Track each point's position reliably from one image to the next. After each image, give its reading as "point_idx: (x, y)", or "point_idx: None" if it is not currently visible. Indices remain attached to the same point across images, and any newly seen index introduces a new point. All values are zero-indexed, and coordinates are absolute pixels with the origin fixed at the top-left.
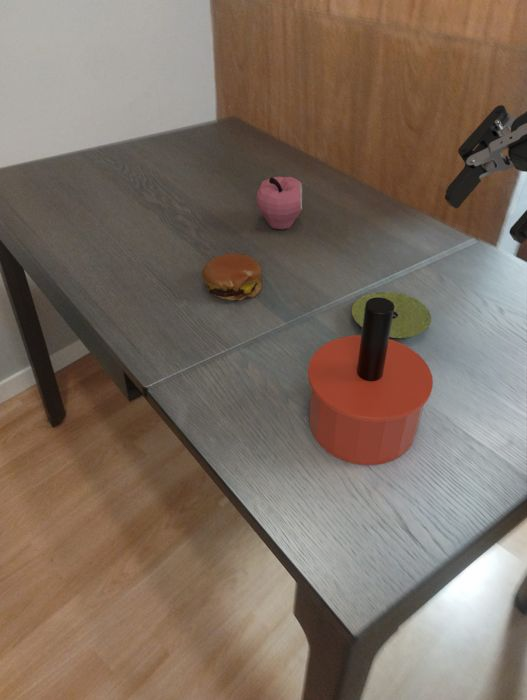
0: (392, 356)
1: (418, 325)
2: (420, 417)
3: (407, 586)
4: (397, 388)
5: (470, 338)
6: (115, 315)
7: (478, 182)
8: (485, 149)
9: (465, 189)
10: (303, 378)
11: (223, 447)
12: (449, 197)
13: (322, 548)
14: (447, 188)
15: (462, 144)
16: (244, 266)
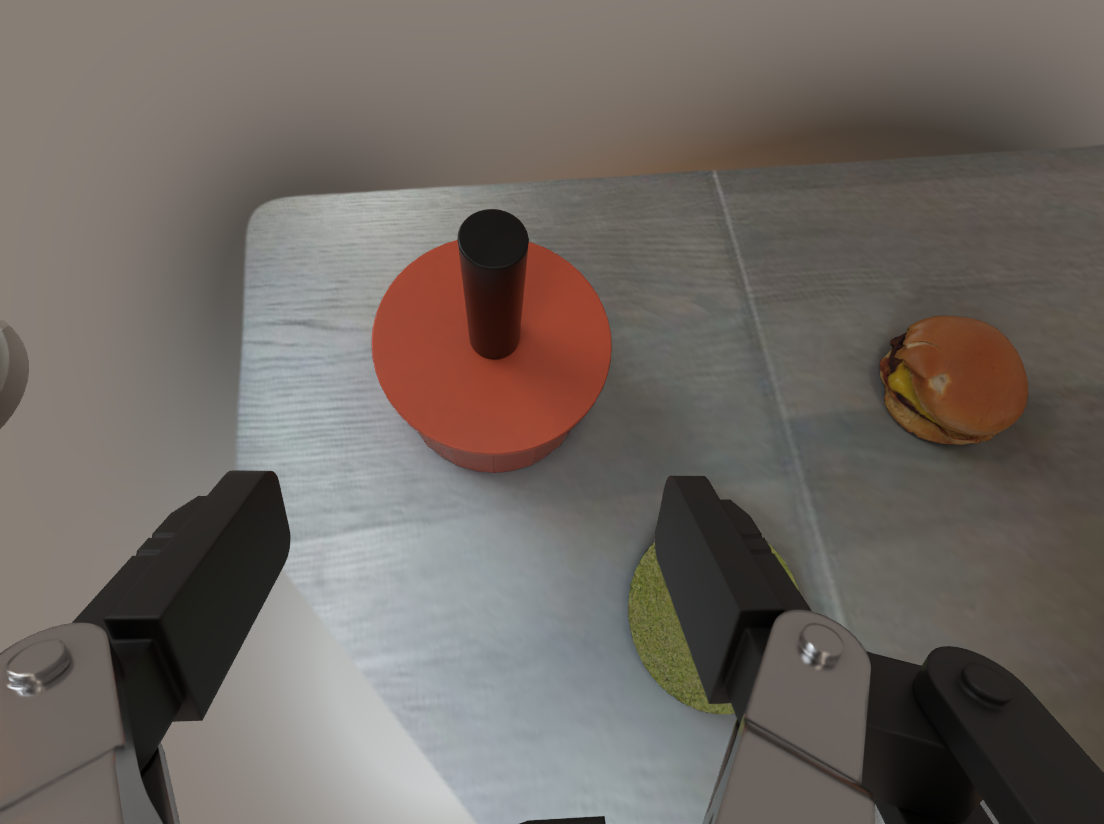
0: (510, 403)
1: (654, 640)
2: (420, 434)
3: (247, 275)
4: (431, 352)
5: (584, 753)
6: (900, 190)
7: (702, 678)
8: (854, 765)
9: (686, 576)
10: (631, 364)
11: (556, 203)
12: (675, 477)
13: (350, 225)
14: (744, 514)
15: (1052, 719)
16: (965, 386)
